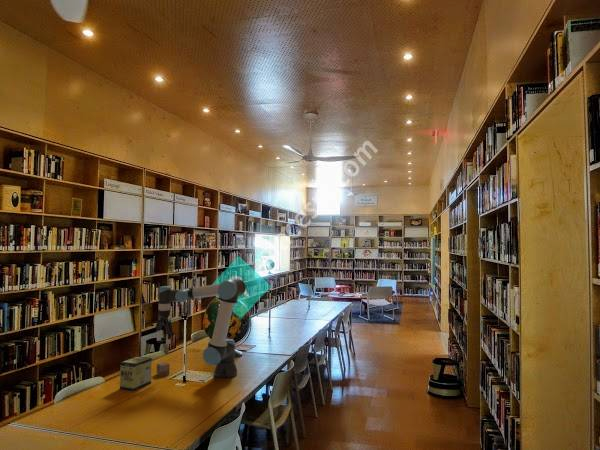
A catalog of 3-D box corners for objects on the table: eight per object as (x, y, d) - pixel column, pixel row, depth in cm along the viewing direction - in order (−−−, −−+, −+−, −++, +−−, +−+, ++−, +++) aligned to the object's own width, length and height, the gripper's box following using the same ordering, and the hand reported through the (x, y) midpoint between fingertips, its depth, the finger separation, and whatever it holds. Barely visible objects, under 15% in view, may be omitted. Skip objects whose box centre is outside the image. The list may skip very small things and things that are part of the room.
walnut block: (169, 374, 270) (169, 363, 270) (160, 376, 266) (160, 365, 266) (165, 372, 274) (165, 362, 274) (156, 374, 270) (156, 363, 270)
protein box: (119, 389, 242) (119, 362, 243) (138, 381, 256) (138, 355, 257) (133, 391, 238) (134, 364, 239) (151, 383, 253) (152, 357, 254)
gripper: (178, 311, 266) (177, 344, 265) (161, 307, 284) (160, 338, 283) (167, 312, 261) (166, 346, 259) (150, 308, 279) (149, 339, 277)
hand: (163, 342), depth 271 cm, fingers open, 13 cm apart
